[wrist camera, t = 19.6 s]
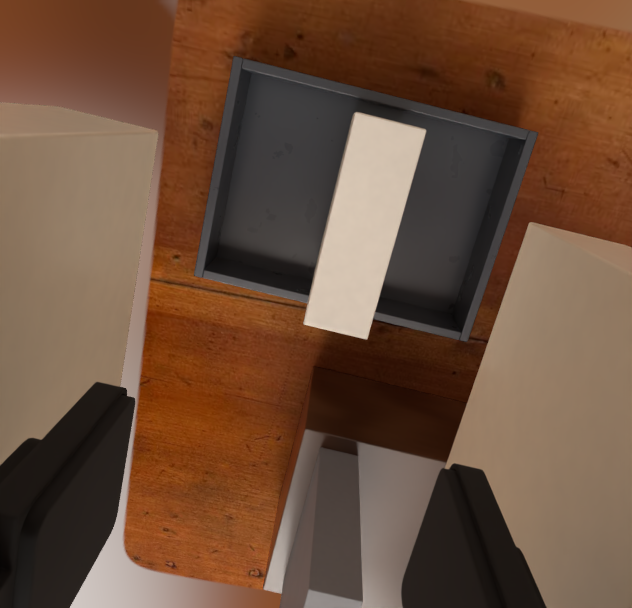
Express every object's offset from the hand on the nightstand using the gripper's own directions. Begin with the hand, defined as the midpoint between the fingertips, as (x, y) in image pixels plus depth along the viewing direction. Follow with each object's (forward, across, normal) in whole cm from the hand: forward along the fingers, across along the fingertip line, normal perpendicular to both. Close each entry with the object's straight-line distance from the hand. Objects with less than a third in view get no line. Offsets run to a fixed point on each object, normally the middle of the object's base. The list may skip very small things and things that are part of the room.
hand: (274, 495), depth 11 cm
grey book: (+24, -4, +18) cm, 30 cm away
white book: (+33, -2, -2) cm, 33 cm away
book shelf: (+34, -12, +18) cm, 40 cm away
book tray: (+34, -2, -2) cm, 34 cm away
